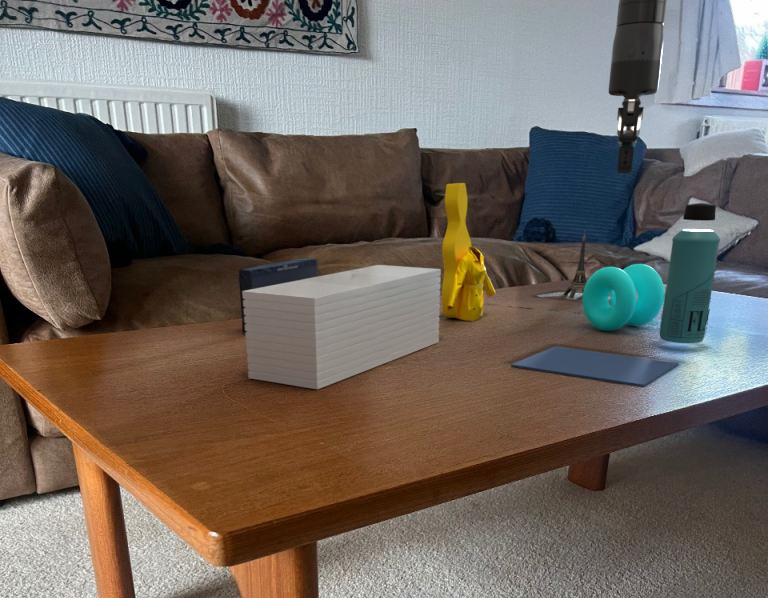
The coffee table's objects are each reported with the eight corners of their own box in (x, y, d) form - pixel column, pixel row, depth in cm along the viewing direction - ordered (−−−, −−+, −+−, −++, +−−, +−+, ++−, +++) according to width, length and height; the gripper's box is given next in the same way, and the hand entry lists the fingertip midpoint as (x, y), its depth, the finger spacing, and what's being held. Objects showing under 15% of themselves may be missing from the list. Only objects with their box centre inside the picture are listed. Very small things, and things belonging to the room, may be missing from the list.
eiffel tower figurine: (626, 301, 155) (635, 230, 150) (602, 307, 149) (610, 233, 143) (559, 293, 165) (565, 226, 159) (534, 299, 158) (539, 229, 152)
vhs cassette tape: (253, 335, 124) (249, 270, 120) (239, 333, 125) (234, 268, 121) (321, 317, 138) (320, 258, 134) (308, 316, 140) (306, 257, 136)
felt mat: (678, 365, 106) (678, 363, 105) (643, 387, 95) (643, 384, 95) (554, 348, 115) (555, 346, 115) (511, 366, 105) (511, 364, 105)
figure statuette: (459, 328, 130) (465, 184, 121) (418, 323, 133) (421, 183, 124) (503, 312, 143) (511, 182, 134) (464, 308, 147) (470, 181, 138)
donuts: (663, 329, 129) (672, 266, 125) (623, 336, 123) (631, 270, 119) (615, 320, 136) (622, 260, 132) (575, 326, 131) (581, 264, 127)
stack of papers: (317, 389, 94) (314, 298, 89) (248, 378, 99) (242, 290, 94) (438, 342, 119) (440, 269, 114) (378, 335, 124) (378, 264, 119)
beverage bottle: (683, 355, 111) (707, 204, 103) (646, 347, 116) (666, 202, 108) (712, 350, 114) (738, 203, 106) (675, 342, 119) (697, 201, 111)
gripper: (663, 53, 115) (649, 173, 121) (659, 64, 127) (647, 172, 134) (610, 55, 117) (599, 173, 123) (612, 66, 129) (601, 173, 136)
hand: (624, 173), depth 128 cm, fingers open, 8 cm apart
